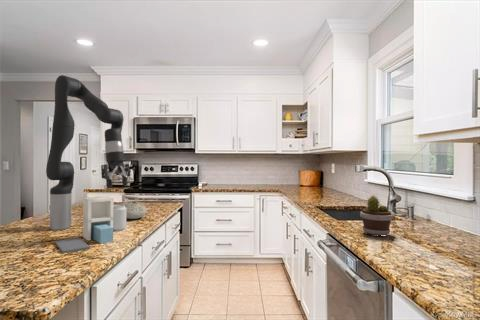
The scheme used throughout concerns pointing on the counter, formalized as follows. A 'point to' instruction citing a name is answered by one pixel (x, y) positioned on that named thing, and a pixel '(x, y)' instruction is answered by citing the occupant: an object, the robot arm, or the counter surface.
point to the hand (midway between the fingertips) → (117, 187)
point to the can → (119, 217)
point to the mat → (71, 245)
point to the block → (102, 233)
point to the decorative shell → (134, 209)
